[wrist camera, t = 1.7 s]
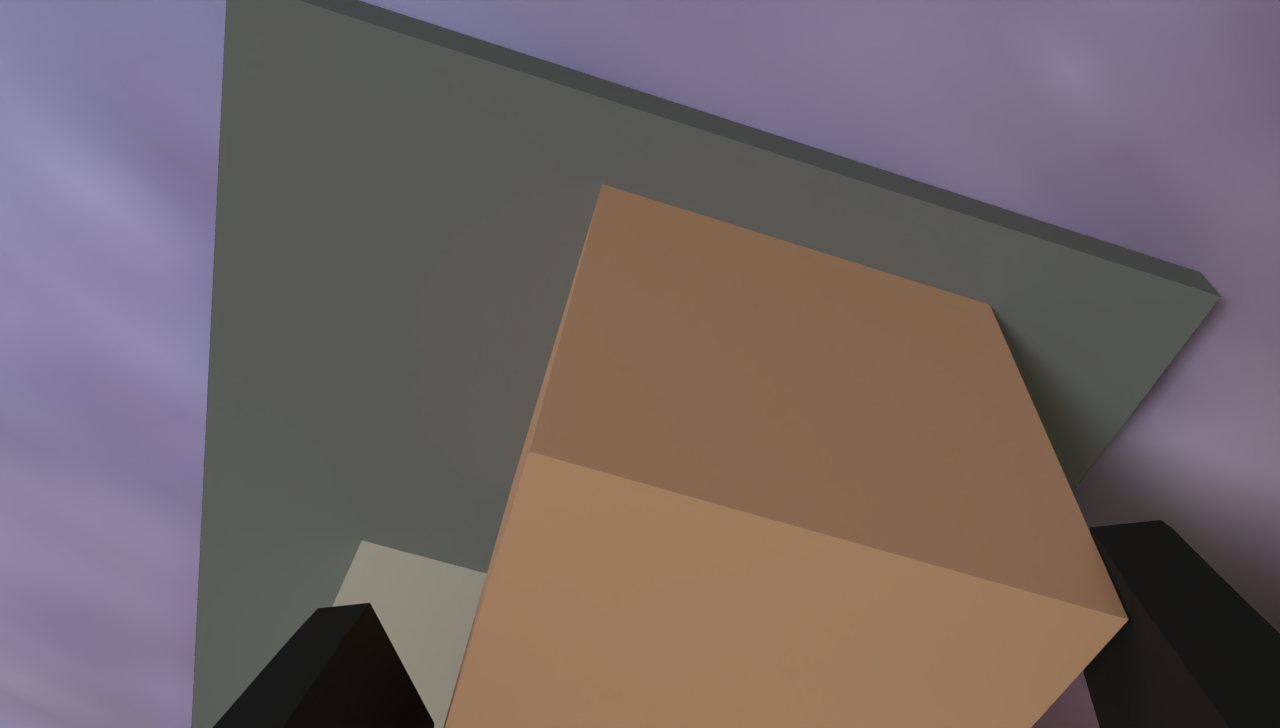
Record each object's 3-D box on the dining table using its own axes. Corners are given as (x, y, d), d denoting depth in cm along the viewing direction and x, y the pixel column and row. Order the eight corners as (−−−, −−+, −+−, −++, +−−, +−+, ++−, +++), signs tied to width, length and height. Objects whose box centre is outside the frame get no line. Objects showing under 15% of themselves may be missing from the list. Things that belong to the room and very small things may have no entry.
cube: (989, 304, 12) (1127, 619, 8) (829, 571, 15) (869, 907, 10) (602, 184, 11) (530, 451, 7) (511, 484, 14) (421, 800, 10)
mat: (1201, 272, 12) (1220, 296, 12) (721, 925, 22) (721, 952, 22) (251, -35, 11) (227, -23, 10) (199, 802, 21) (186, 828, 20)
